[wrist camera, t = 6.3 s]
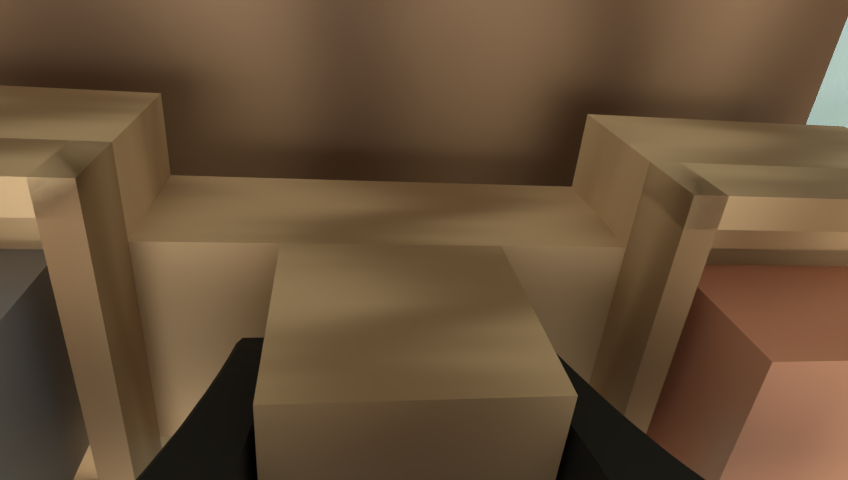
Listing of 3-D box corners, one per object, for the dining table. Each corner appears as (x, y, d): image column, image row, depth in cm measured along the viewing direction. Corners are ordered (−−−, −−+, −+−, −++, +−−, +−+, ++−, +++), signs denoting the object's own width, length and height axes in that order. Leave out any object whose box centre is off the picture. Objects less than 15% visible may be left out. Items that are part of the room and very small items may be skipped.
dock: (827, -111, 17) (899, -116, 15) (703, 250, 23) (742, 285, 21) (-205, -234, 13) (-311, -265, 11) (-52, 242, 19) (-103, 284, 17)
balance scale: (843, 126, 14) (1224, 280, 8) (735, 384, 18) (942, 622, 12) (-217, 74, 11) (-929, 274, 5) (-82, 406, 15) (-385, 759, 8)
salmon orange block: (851, 265, 12) (989, 358, 10) (781, 410, 14) (882, 520, 12) (675, 264, 12) (772, 362, 9) (626, 415, 14) (695, 532, 11)
